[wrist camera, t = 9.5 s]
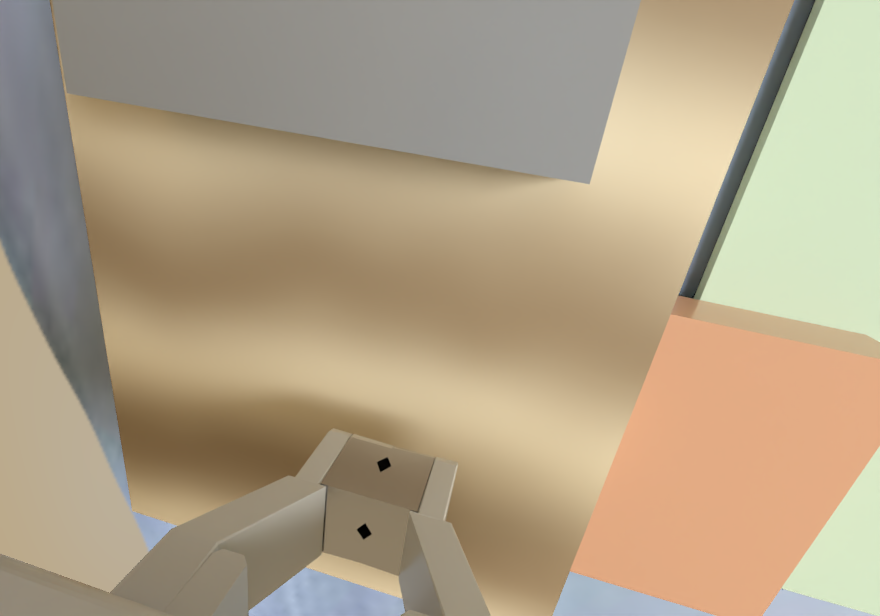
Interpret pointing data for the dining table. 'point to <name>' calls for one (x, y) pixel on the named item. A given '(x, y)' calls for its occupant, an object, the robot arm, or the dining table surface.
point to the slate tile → (369, 70)
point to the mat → (818, 248)
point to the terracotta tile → (733, 457)
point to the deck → (410, 296)
